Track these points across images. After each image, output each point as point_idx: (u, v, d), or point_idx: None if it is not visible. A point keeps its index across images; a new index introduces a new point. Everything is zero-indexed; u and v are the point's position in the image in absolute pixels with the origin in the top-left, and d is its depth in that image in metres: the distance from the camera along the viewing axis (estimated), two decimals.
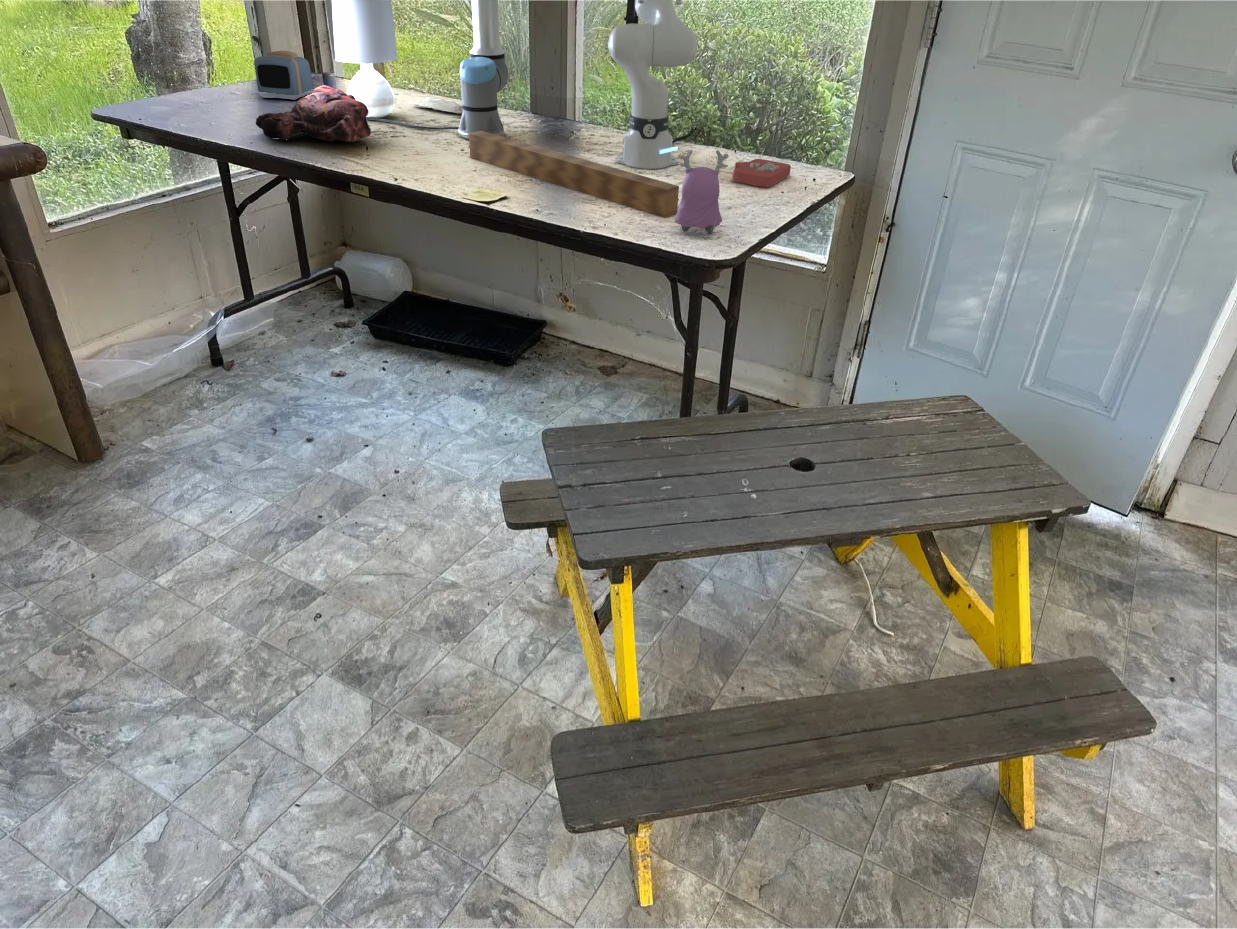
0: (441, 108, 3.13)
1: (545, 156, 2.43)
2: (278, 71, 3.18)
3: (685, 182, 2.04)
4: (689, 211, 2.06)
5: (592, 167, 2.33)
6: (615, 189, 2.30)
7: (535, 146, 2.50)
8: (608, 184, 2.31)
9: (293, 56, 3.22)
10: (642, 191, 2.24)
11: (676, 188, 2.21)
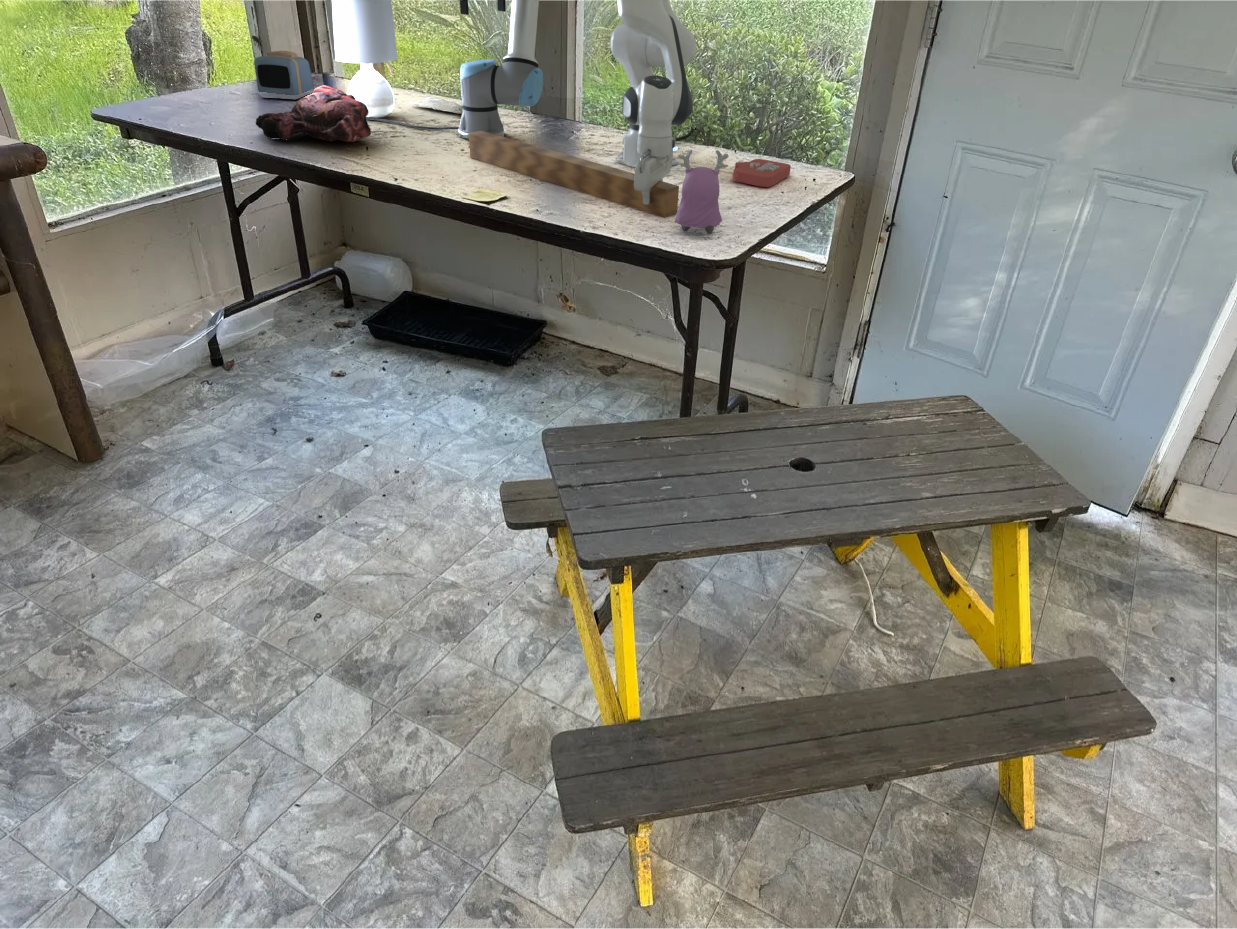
0: (441, 108, 3.13)
1: (545, 156, 2.43)
2: (278, 71, 3.18)
3: (685, 182, 2.04)
4: (689, 211, 2.06)
5: (592, 167, 2.33)
6: (615, 189, 2.30)
7: (535, 146, 2.50)
8: (608, 184, 2.31)
9: (293, 56, 3.22)
10: None
11: (676, 188, 2.21)
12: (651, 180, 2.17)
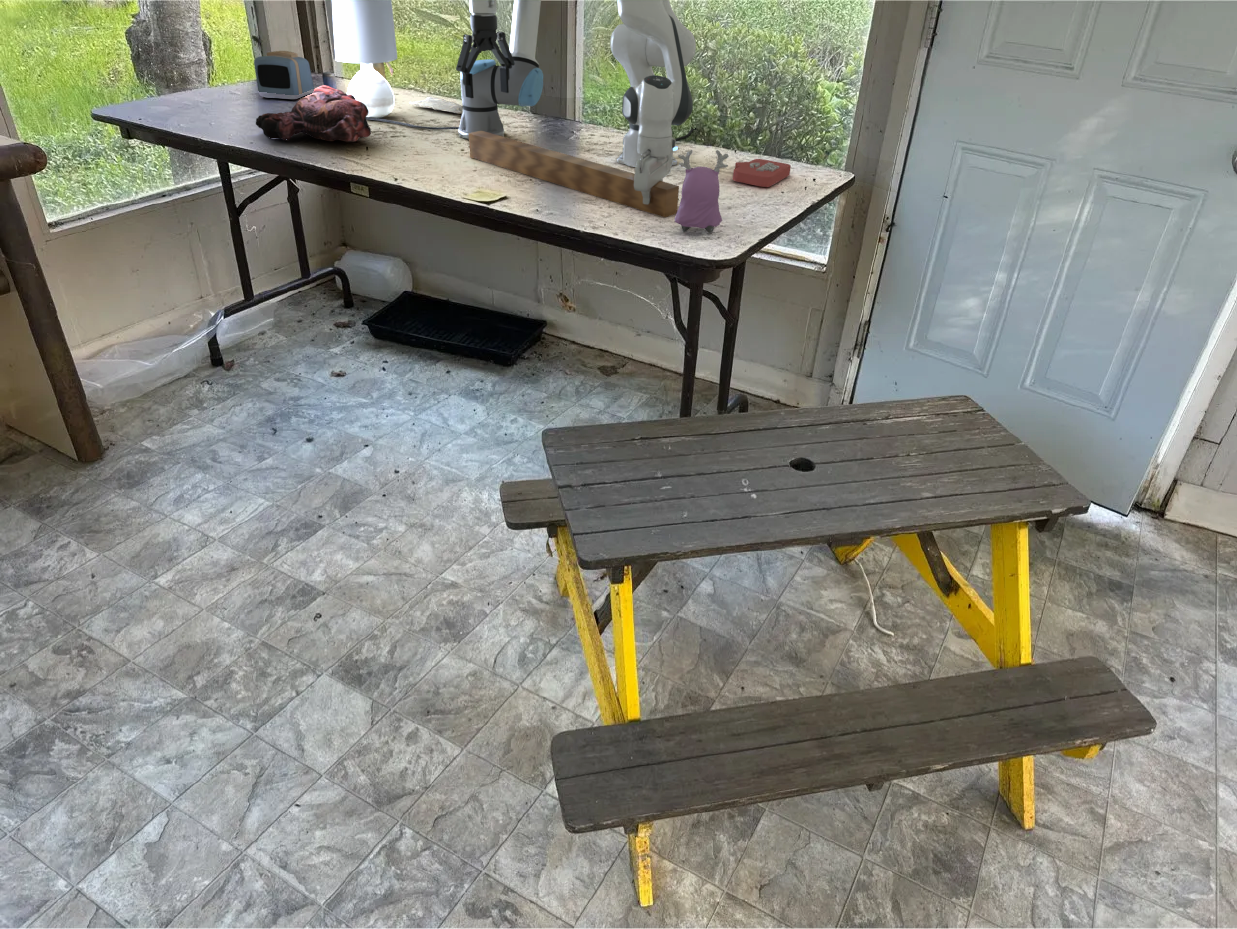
0: (441, 108, 3.13)
1: (545, 156, 2.43)
2: (278, 71, 3.18)
3: (685, 182, 2.04)
4: (689, 211, 2.06)
5: (592, 167, 2.33)
6: (615, 189, 2.30)
7: (535, 146, 2.50)
8: (608, 184, 2.31)
9: (293, 56, 3.22)
10: None
11: (676, 188, 2.21)
12: (651, 180, 2.17)
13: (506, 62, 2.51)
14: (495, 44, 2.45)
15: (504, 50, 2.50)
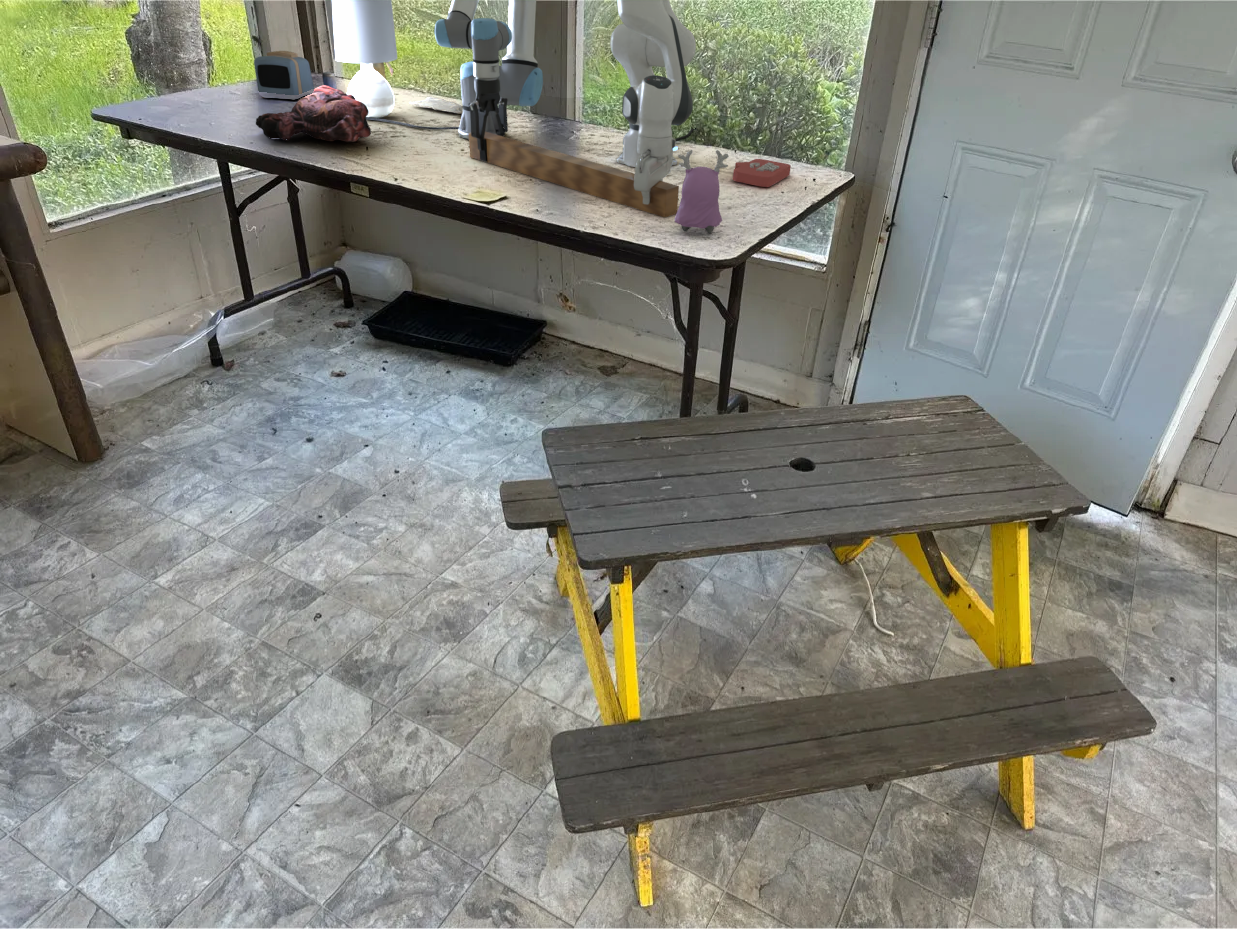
0: (441, 108, 3.13)
1: (545, 156, 2.43)
2: (278, 71, 3.18)
3: (685, 182, 2.04)
4: (689, 211, 2.06)
5: (592, 167, 2.33)
6: (615, 189, 2.30)
7: (535, 146, 2.50)
8: (608, 184, 2.31)
9: (293, 56, 3.22)
10: None
11: (676, 188, 2.21)
12: (651, 180, 2.17)
13: (501, 129, 2.59)
14: (496, 107, 2.54)
15: (502, 115, 2.59)
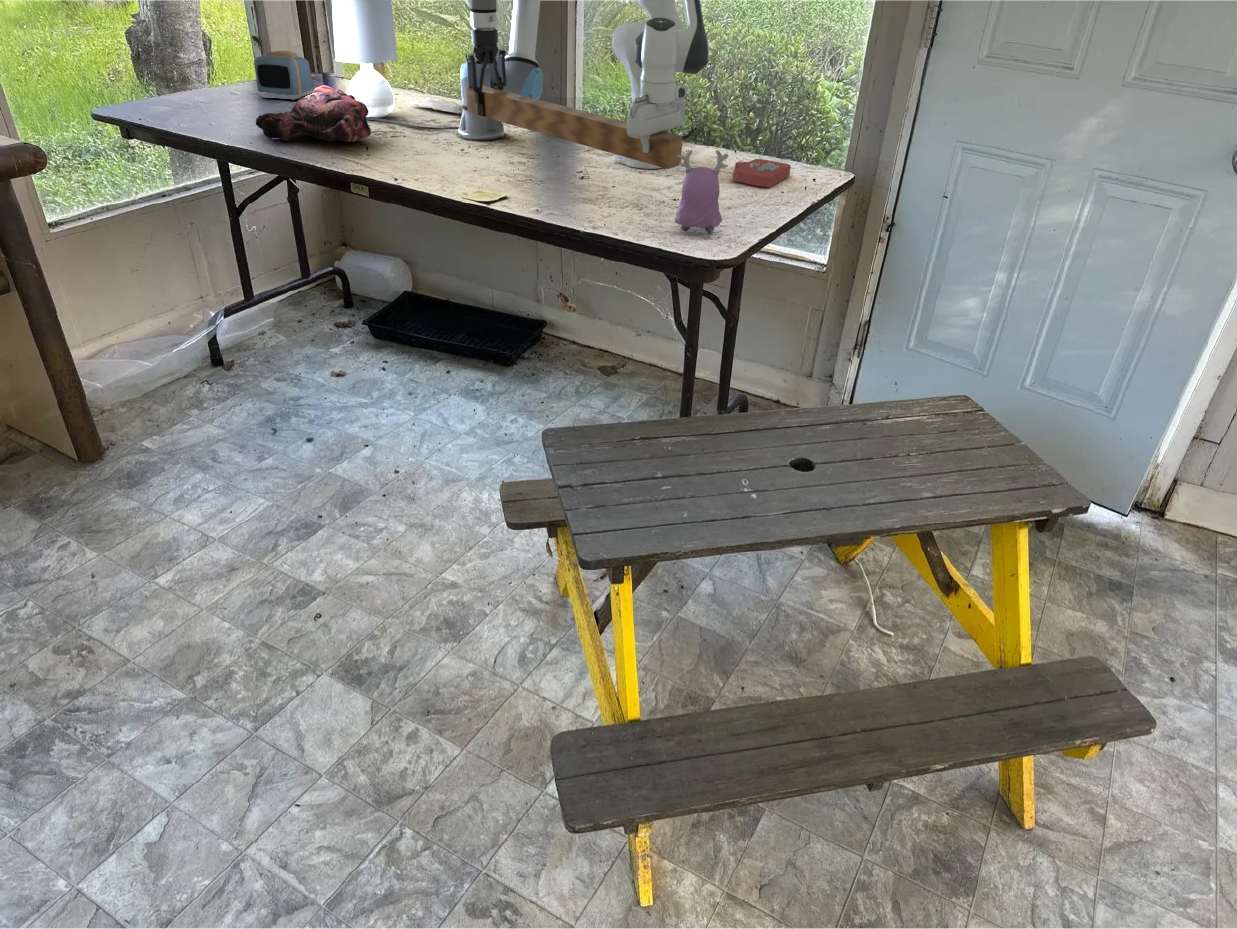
0: (441, 108, 3.13)
1: (544, 108, 2.36)
2: (278, 71, 3.18)
3: (685, 182, 2.04)
4: (689, 211, 2.06)
5: (593, 118, 2.27)
6: (616, 140, 2.23)
7: (534, 99, 2.43)
8: (609, 135, 2.24)
9: (293, 56, 3.22)
10: None
11: (680, 138, 2.14)
12: (646, 127, 2.10)
13: (499, 82, 2.52)
14: (494, 59, 2.47)
15: (500, 68, 2.52)
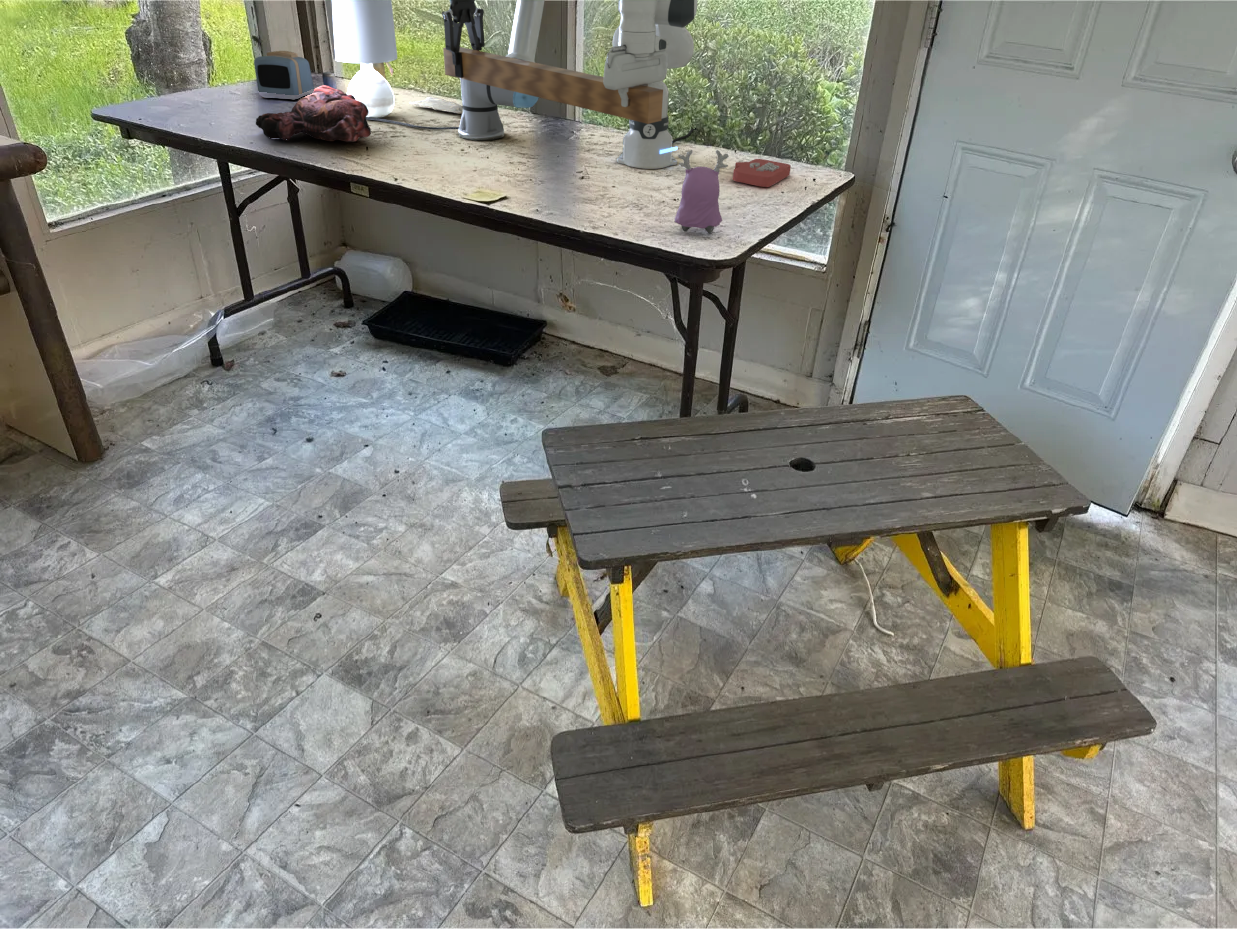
0: (441, 108, 3.13)
1: (522, 66, 2.29)
2: (278, 71, 3.18)
3: (685, 182, 2.04)
4: (689, 211, 2.06)
5: (571, 74, 2.19)
6: (595, 96, 2.16)
7: (513, 58, 2.36)
8: (588, 91, 2.17)
9: (293, 56, 3.22)
10: None
11: (660, 92, 2.07)
12: (623, 78, 2.03)
13: (477, 42, 2.45)
14: (472, 18, 2.40)
15: (478, 28, 2.44)
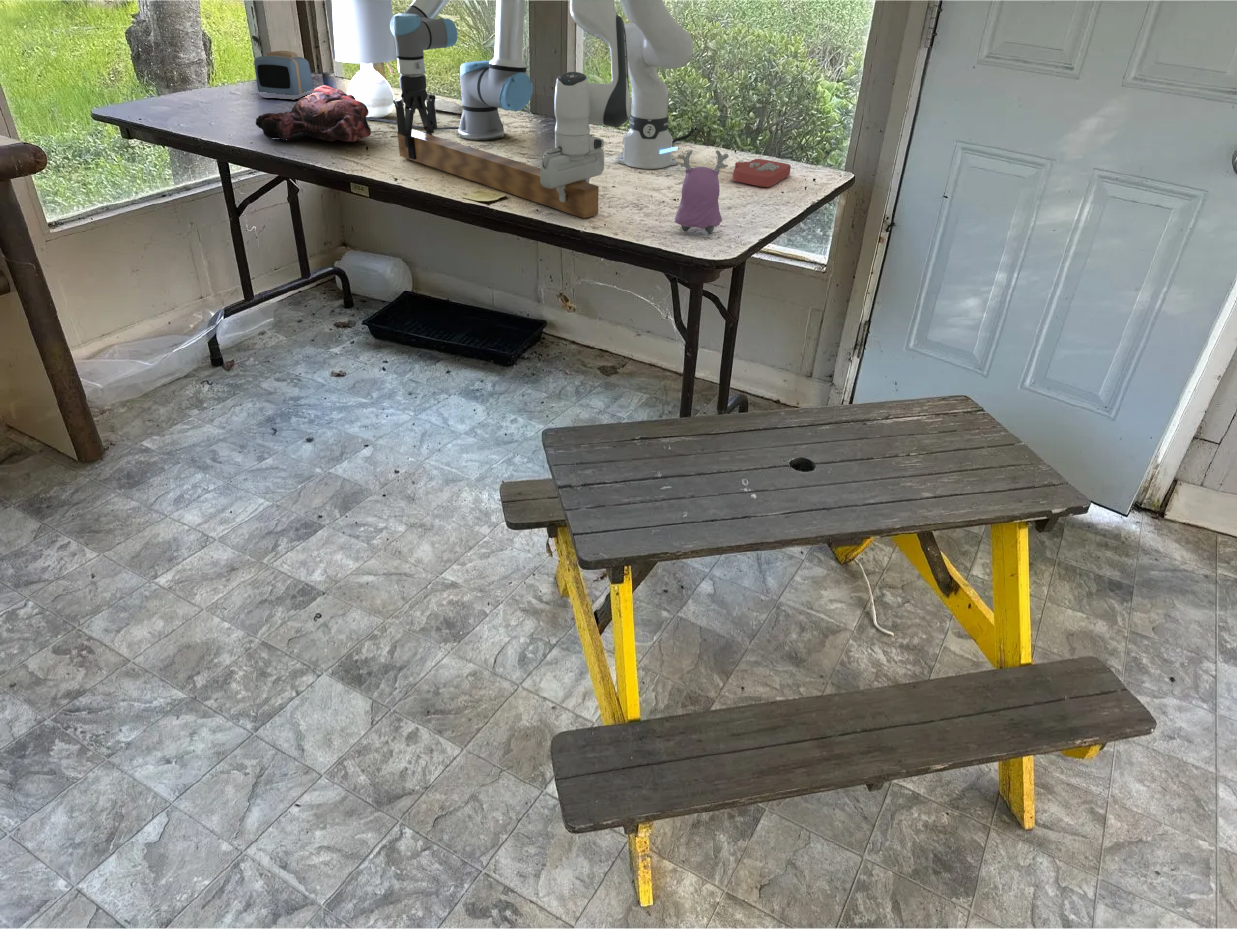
0: (441, 108, 3.13)
1: (469, 155, 2.39)
2: (278, 71, 3.18)
3: (685, 182, 2.04)
4: (689, 211, 2.06)
5: (514, 167, 2.29)
6: (536, 189, 2.26)
7: (462, 145, 2.46)
8: (529, 184, 2.27)
9: (293, 56, 3.22)
10: None
11: (595, 188, 2.17)
12: (559, 177, 2.13)
13: (429, 126, 2.55)
14: (423, 104, 2.50)
15: (430, 112, 2.55)
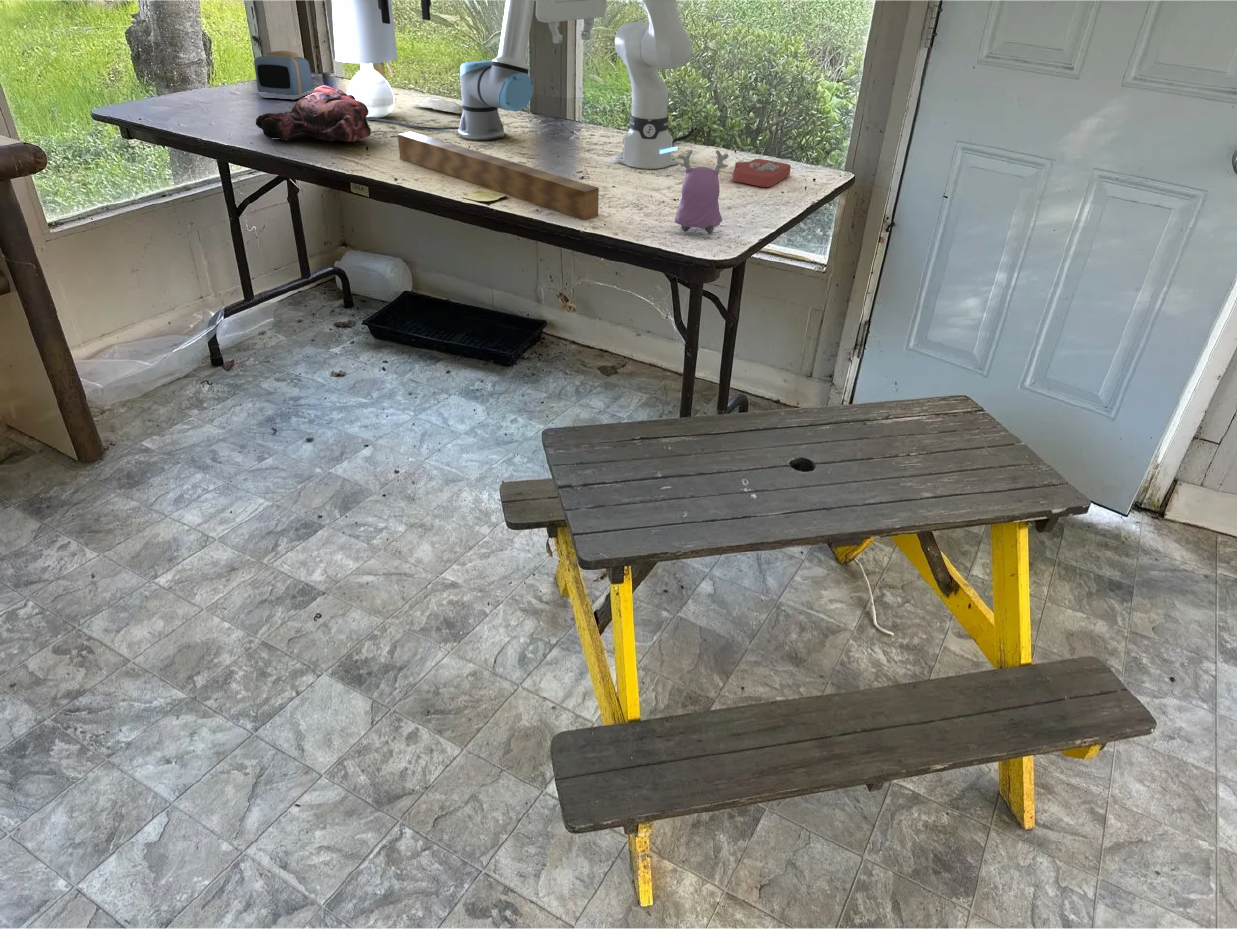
0: (441, 108, 3.13)
1: (469, 157, 2.39)
2: (278, 71, 3.18)
3: (685, 182, 2.04)
4: (689, 211, 2.06)
5: (514, 168, 2.30)
6: (536, 191, 2.26)
7: (462, 147, 2.47)
8: (530, 185, 2.27)
9: (293, 56, 3.22)
10: (562, 193, 2.20)
11: (595, 190, 2.17)
12: (557, 10, 1.92)
13: None
14: None
15: None
